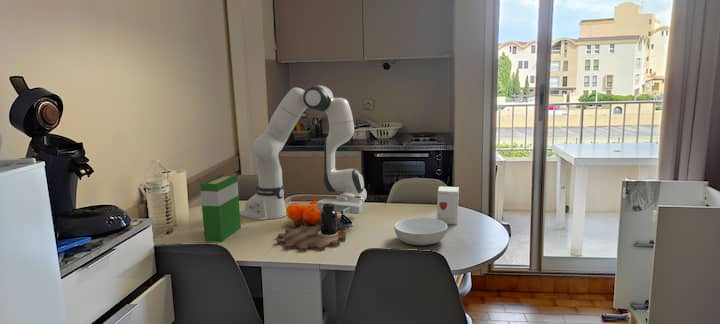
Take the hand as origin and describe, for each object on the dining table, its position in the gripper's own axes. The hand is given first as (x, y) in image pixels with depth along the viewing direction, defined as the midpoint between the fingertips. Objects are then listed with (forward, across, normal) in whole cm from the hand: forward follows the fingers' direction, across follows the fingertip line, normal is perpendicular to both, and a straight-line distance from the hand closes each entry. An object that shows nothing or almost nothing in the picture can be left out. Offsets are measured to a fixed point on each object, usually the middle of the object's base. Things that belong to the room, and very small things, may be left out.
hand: (331, 211), depth 204 cm
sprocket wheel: (+9, -5, +10) cm, 14 cm away
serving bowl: (-4, +37, +10) cm, 39 cm away
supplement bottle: (+4, 0, +8) cm, 9 cm away
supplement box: (-33, +41, +10) cm, 54 cm away
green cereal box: (+17, -43, +10) cm, 47 cm away
